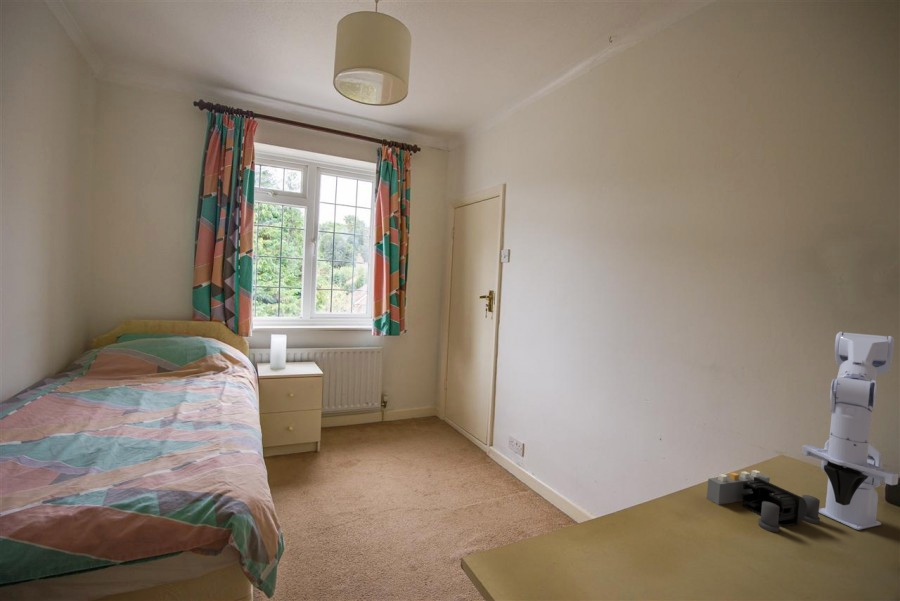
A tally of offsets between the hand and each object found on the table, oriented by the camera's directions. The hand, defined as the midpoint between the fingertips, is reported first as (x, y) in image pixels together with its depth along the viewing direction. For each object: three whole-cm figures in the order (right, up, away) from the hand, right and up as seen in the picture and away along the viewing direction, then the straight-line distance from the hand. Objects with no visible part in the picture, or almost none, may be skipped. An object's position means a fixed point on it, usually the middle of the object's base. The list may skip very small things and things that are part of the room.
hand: (842, 503), depth 83 cm
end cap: (-5, -9, +12) cm, 16 cm away
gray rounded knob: (-10, -8, +6) cm, 15 cm away
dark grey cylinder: (+3, -9, +11) cm, 15 cm away
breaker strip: (-8, -8, +19) cm, 22 cm away
